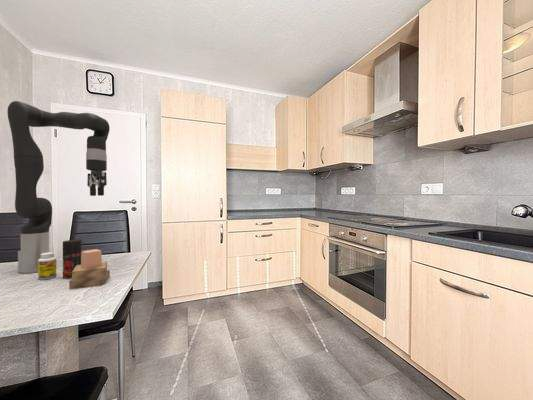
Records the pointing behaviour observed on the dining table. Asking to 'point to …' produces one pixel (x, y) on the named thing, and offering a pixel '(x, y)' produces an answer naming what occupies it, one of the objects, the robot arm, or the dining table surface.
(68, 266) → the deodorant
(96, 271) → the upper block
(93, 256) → the clay block
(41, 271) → the supplement bottle
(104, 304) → the dining table surface
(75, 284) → the lower block
